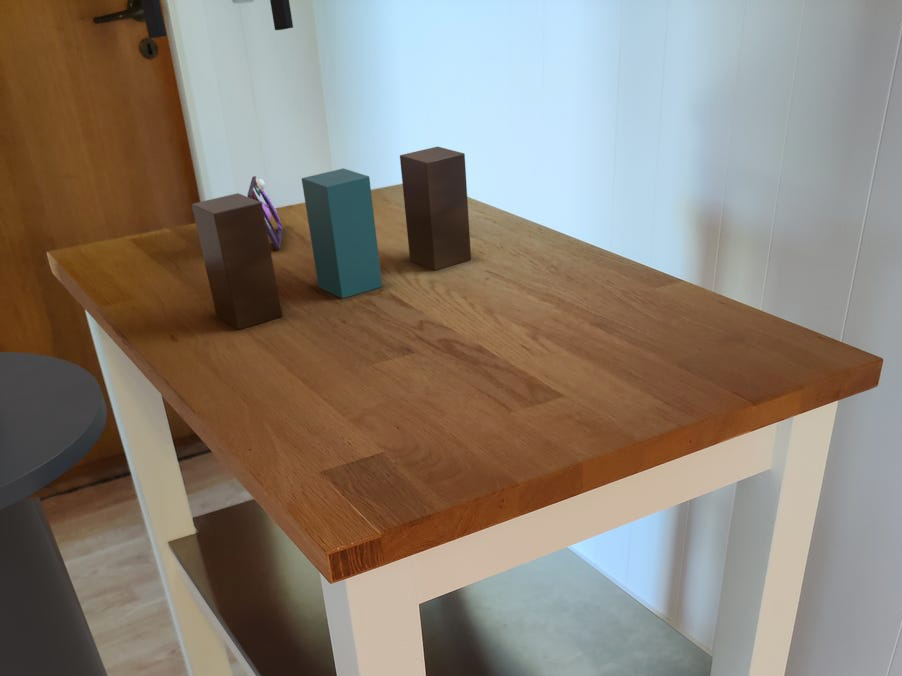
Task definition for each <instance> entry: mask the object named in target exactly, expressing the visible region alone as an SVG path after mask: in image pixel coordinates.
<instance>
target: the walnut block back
mask: <svg viewBox="0 0 902 676" xmlns="http://www.w3.org/2000/svg"><path fill="white" fill-rule="evenodd" d="M399 162H400V171H401V183H402V184H401V185H402V194H403V202H404V213H405V223H406V233H407V242H408V253H409V261H410V262H413V263H415V264H418V265H421V266H423V267H424V268H425V267H426V268H428V269H430V270H433V271H437V270H442V269H445V268H447V267H451V266H455V265H458V264H461V263H465V262H468V261H471V260H472V251H471V250H472V249H471V235H470V220H469V217H470V216H469V204H468V203H469V202H468V185H467V170H466V169H467V167H466V154H465V153H464V152H460V151H456V150H454V149H453V150H452V149H450V148H445V147H442V146H434V147H430V148H429V147H428V148H424V149H420V150H416V151H412V152H407V153H403V154H400V155H399Z"/></svg>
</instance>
